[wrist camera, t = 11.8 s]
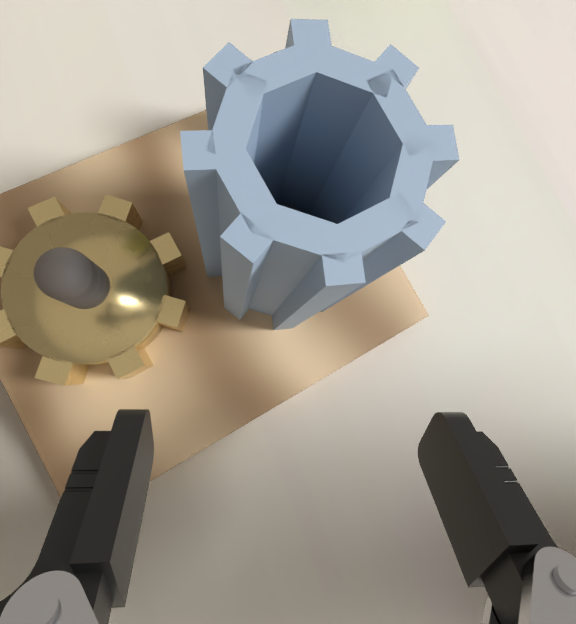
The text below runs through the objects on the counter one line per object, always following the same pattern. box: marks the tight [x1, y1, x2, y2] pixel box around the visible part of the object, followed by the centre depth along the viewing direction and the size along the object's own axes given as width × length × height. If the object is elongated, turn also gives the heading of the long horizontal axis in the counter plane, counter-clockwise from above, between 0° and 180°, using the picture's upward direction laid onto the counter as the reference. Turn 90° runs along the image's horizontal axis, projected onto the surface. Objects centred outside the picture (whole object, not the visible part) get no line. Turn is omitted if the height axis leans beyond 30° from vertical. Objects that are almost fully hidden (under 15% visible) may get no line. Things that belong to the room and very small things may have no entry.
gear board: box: [0, 52, 429, 497], centre depth 16 cm, size 18×14×6 cm
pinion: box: [180, 19, 459, 330], centre depth 14 cm, size 6×6×10 cm
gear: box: [0, 194, 190, 386], centre depth 16 cm, size 8×8×2 cm
